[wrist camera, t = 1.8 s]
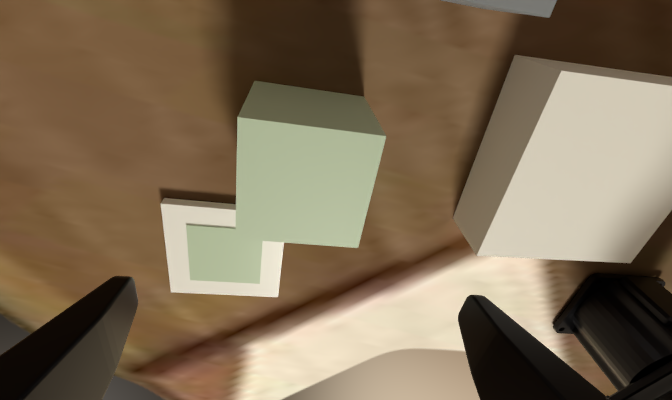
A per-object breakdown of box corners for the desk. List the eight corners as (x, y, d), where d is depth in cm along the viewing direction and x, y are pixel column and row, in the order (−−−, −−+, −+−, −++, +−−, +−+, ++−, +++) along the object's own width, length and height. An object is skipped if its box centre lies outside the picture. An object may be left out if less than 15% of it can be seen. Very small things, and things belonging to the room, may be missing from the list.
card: (278, 290, 24) (277, 298, 24) (173, 285, 23) (170, 293, 23) (287, 208, 21) (286, 215, 20) (164, 197, 20) (160, 204, 19)
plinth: (584, 223, 24) (630, 263, 21) (450, 215, 23) (476, 255, 19) (677, 77, 19) (758, 97, 16) (511, 53, 18) (561, 70, 14)
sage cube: (344, 188, 21) (357, 247, 16) (250, 178, 20) (235, 238, 15) (363, 96, 18) (386, 136, 13) (254, 80, 17) (237, 116, 12)
